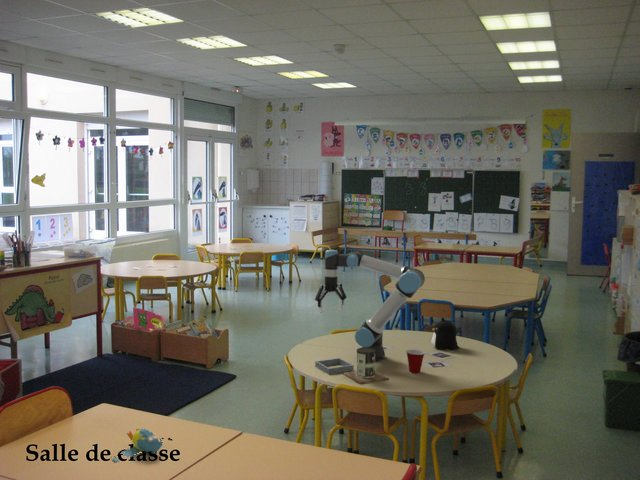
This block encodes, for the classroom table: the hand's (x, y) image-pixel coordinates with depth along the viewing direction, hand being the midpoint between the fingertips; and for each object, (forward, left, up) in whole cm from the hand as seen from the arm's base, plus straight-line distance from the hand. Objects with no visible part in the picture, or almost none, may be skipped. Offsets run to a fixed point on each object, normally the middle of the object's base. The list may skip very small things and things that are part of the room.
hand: (330, 311), depth 371 cm
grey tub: (+7, +18, -29) cm, 35 cm away
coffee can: (-1, +39, -28) cm, 48 cm away
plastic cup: (-31, +43, -29) cm, 60 cm away
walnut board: (-1, +39, -29) cm, 48 cm away
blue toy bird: (+126, +79, -30) cm, 152 cm away
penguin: (-79, +10, -29) cm, 85 cm away
